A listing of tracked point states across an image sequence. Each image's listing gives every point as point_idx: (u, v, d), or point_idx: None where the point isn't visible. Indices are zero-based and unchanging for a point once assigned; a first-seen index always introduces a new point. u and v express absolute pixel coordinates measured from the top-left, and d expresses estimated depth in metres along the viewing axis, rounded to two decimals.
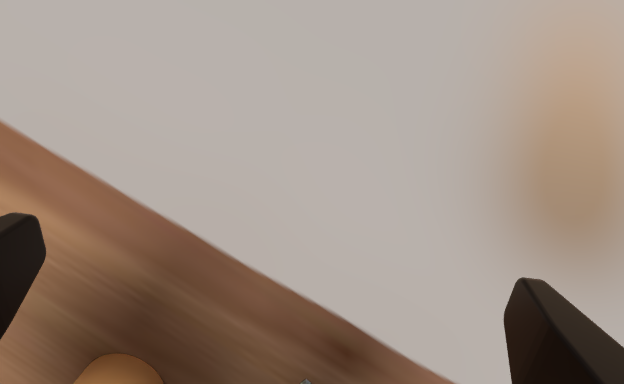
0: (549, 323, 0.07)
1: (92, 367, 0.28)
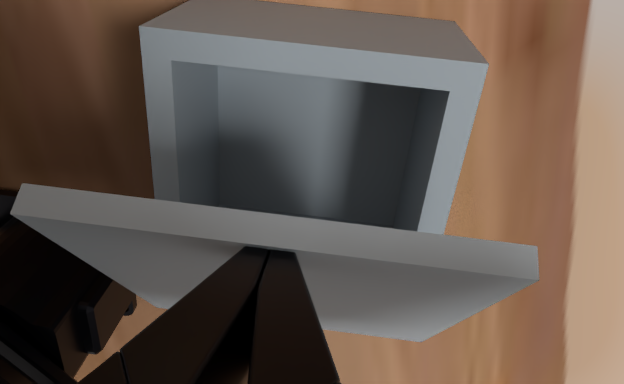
0: (258, 285, 0.07)
1: None
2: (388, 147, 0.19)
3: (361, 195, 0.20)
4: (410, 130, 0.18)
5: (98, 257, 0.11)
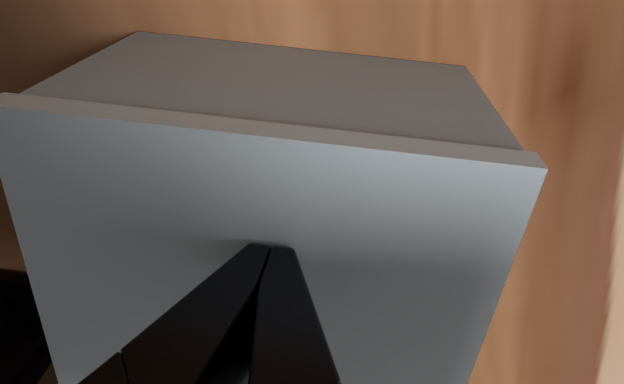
0: (258, 285, 0.07)
1: None
2: None
3: None
4: None
5: (45, 234, 0.09)
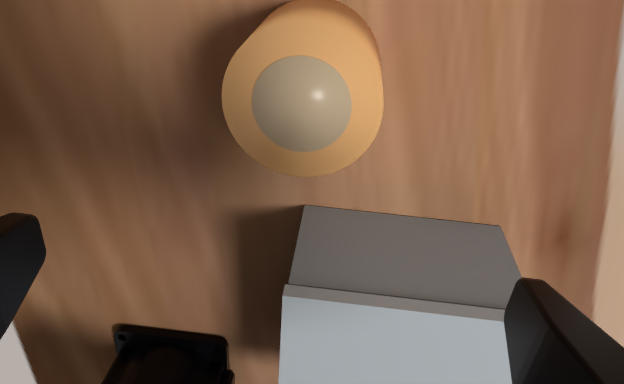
0: (549, 323, 0.07)
1: (341, 9, 0.17)
2: None
3: None
4: None
5: (295, 346, 0.19)
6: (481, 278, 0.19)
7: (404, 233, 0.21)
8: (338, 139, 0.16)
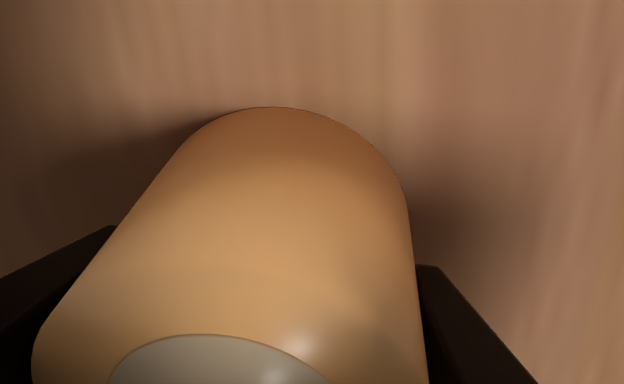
0: (426, 307, 0.07)
1: (332, 148, 0.08)
2: None
3: None
4: None
5: None
6: None
7: None
8: None
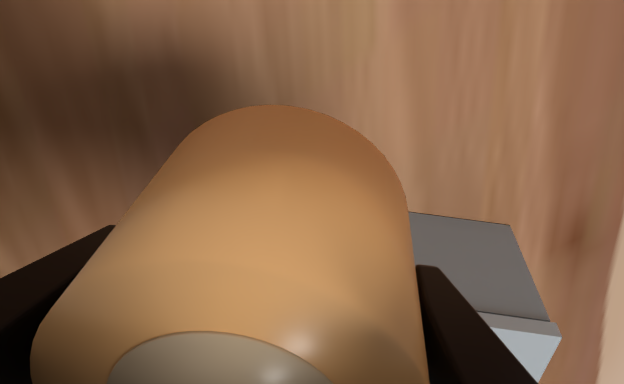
0: (426, 307, 0.07)
1: (332, 146, 0.08)
2: None
3: None
4: None
5: None
6: (490, 281, 0.18)
7: None
8: None
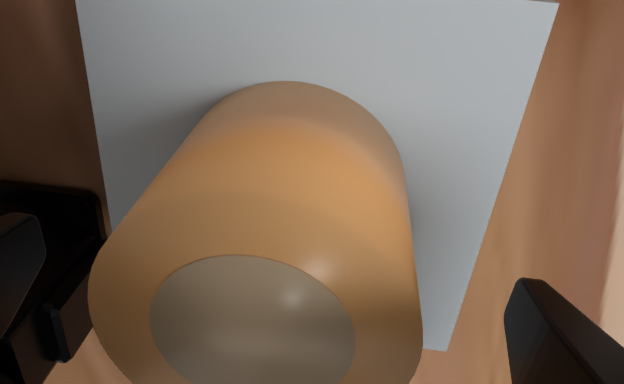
0: (549, 323, 0.07)
1: (338, 114, 0.09)
2: None
3: None
4: None
5: (114, 85, 0.11)
6: None
7: None
8: None
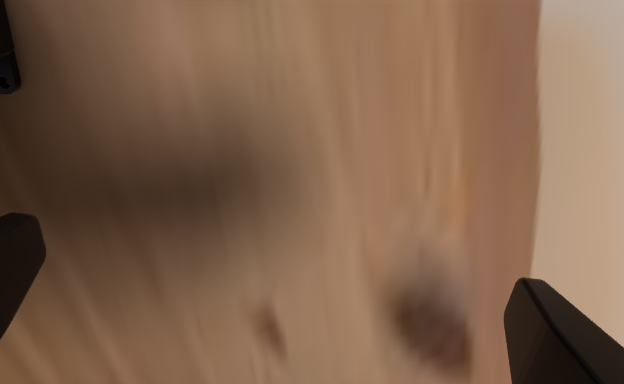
0: (549, 323, 0.07)
1: None
2: None
3: None
4: None
5: None
6: None
7: None
8: None
